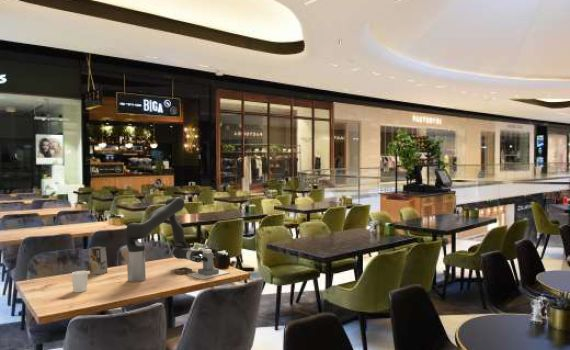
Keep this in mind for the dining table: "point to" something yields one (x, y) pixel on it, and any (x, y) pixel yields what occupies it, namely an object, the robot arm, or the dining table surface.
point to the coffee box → (98, 260)
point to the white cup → (79, 281)
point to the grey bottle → (209, 264)
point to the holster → (182, 270)
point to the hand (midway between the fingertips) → (210, 259)
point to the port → (207, 273)
